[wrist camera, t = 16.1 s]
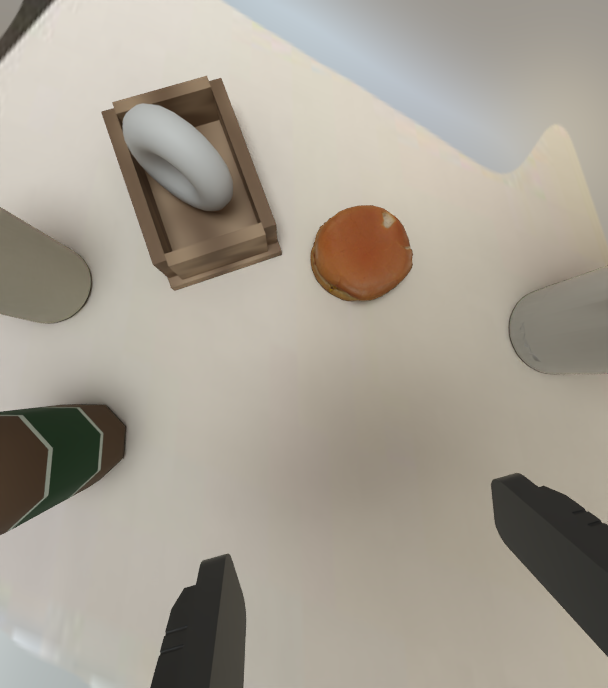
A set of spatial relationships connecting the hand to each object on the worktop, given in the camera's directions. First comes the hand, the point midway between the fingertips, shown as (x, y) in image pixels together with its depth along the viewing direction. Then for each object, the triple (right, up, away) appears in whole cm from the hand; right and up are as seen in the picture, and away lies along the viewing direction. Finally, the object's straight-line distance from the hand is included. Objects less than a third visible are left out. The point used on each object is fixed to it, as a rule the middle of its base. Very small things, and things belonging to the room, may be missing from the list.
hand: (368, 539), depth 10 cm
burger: (+4, +15, +26) cm, 30 cm away
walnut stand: (-13, +21, +25) cm, 35 cm away
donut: (-13, +21, +25) cm, 35 cm away
